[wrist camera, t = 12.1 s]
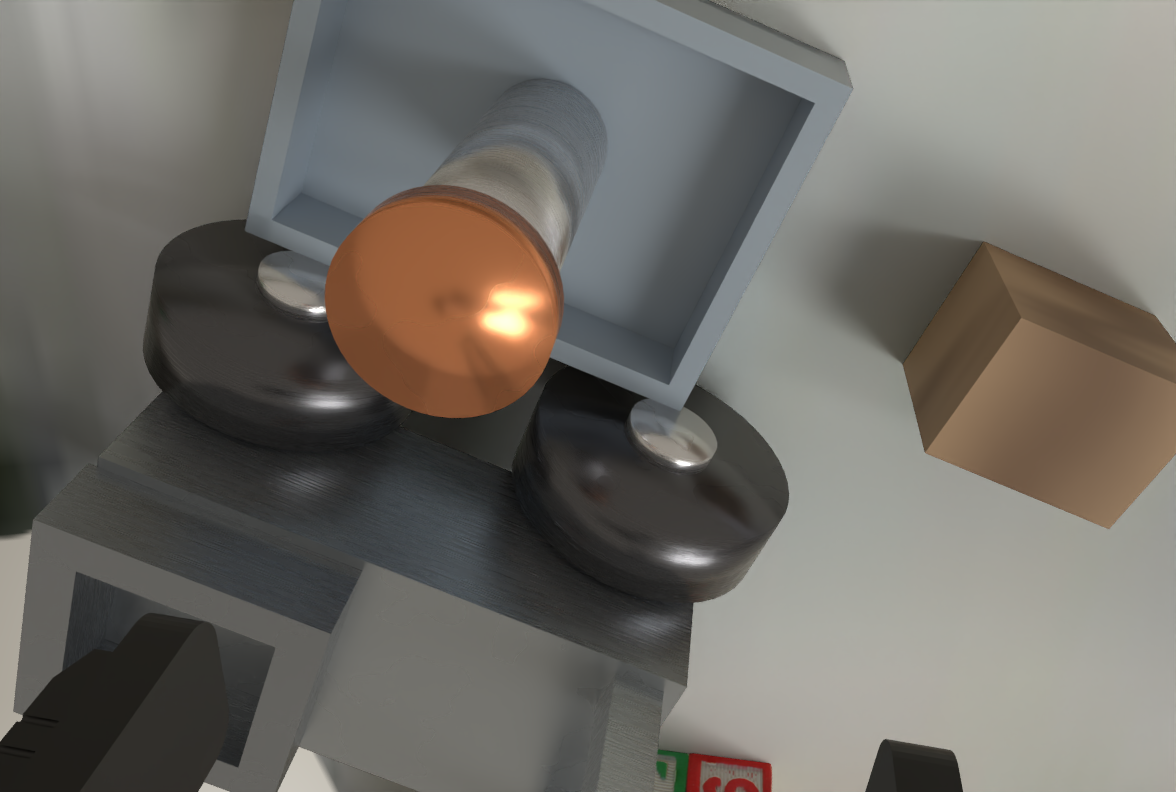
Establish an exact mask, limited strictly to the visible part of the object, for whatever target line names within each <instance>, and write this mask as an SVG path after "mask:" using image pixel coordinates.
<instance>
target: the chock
mask: <svg viewBox="0 0 1176 792" xmlns="http://www.w3.org/2000/svg"><path fill="white" fill-rule="evenodd" d="M903 367H904V371H905V375H906V379H907V383H908V387H909V391H910V395H911V399H912V403H913V407H914V411H915V415H916V419H917V423H918V427H919V431H920V435H921V439H922V443H923V447H924V451H925V453H926V454H929V455H931V456H934V457H936V458H939V459H941V460H943V461H946V462H948V463H951V464H953V465H955V466H958V467H960V468H963V469H965V470H967V471H970V472H972V473H975V474H977V475H980V476H982V477H984V478H987V479H989V480H992V481H994V482H996V483H999V484H1001V485H1004V486H1006V487H1009V488H1011V489H1013V490H1016V491H1018V492H1021V493H1023V494H1025V495H1028V496H1030V497H1033V498H1035V499H1038V500H1040V501H1042V502H1045V503H1047V504H1050V505H1052V506H1054V507H1057V508H1059V509H1062V510H1064V511H1066V512H1069V513H1071V514H1074V515H1076V516H1079V517H1081V518H1083V519H1086V520H1088V521H1091V522H1093V523H1095V524H1098V525H1100V526H1103V527H1105V528H1108V529H1109V528H1110V527H1111V526H1112V525H1113V524H1114V523H1115V522H1116V521H1117V519H1118V518H1119V517H1120V516H1121V515H1122V514H1123V513H1124V512H1125V510H1126V509H1127V508H1128V507H1129V506H1130V505H1131V504H1132V503H1133V501H1134V500H1135V499H1136V498H1137V497H1138V496H1139V495H1140V494H1141V492H1142V491H1143V490H1144V489H1145V488H1146V487H1147V486H1148V485H1149V483H1150V482H1151V481H1152V480H1153V479H1154V478H1155V477H1156V476H1157V474H1158V473H1159V472H1160V471H1161V470H1162V469H1163V468H1164V467H1165V465H1166V464H1167V463H1168V462H1169V461H1170V460H1171V459H1172V458H1173V456H1174V455H1175V454H1176V343H1175V341H1174V340H1173V339H1172V337H1171V336H1170V335H1169V333H1168V332H1167V331H1166V329H1165V328H1164V327H1163V325H1162V324H1161V323H1160V321H1159V320H1158V319H1157V317H1156V316H1155V315H1152V314H1150V313H1148V312H1145V311H1143V310H1141V309H1139V308H1136V307H1134V306H1132V305H1129V304H1127V303H1125V302H1122V301H1120V300H1118V299H1115V298H1113V297H1111V296H1109V295H1106V294H1104V293H1102V292H1099V291H1097V290H1095V289H1092V288H1090V287H1088V286H1085V285H1083V284H1081V283H1078V282H1076V281H1074V280H1072V279H1069V278H1067V277H1065V276H1062V275H1060V274H1058V273H1055V272H1053V271H1051V270H1048V269H1046V268H1044V267H1042V266H1039V265H1037V264H1035V263H1032V262H1030V261H1028V260H1025V259H1023V258H1021V257H1018V256H1016V255H1014V254H1011V253H1009V252H1007V251H1005V250H1002V249H1000V248H998V247H995V246H993V245H991V244H988V243H986V242H984V241H983V243H982V245H981V246H980V248H979V249H978V251H977V252H976V254H975V255H974V257H973V258H972V260H971V261H970V263H969V264H968V266H967V267H966V269H965V270H964V272H963V273H962V275H961V276H960V278H959V279H958V281H957V283H956V284H955V286H954V287H953V289H952V290H951V292H950V293H949V295H948V296H947V298H946V299H945V301H944V302H943V304H942V305H941V307H940V308H939V310H938V311H937V313H936V314H935V316H934V317H933V319H932V320H931V322H930V324H929V325H928V327H927V328H926V330H925V331H924V333H923V334H922V336H921V337H920V339H919V340H918V342H917V343H916V345H915V346H914V348H913V349H912V351H911V352H910V354H909V355H908V357H907V358H906V360H905V361H904V363H903Z"/></svg>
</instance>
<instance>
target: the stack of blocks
mask: <svg viewBox="0 0 1176 792" xmlns="http://www.w3.org/2000/svg"><path fill="white" fill-rule="evenodd" d="M653 792H772V766H771V764H769V763H762V762H755V761H747V760H740V759H732V758H725V757H716V756H709V755H701V754H694V753H692V754H687V753H679V752H672V751H664V750H658V752H657V762H656V772H655V781H654V791H653Z"/></svg>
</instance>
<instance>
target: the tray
mask: <svg viewBox="0 0 1176 792" xmlns="http://www.w3.org/2000/svg"><path fill="white" fill-rule="evenodd" d="M540 78H544V79H553V80H558V81H561V82H564V83H567V84H569V85H571V86H573V87H575V88H576V89H578V90H579V91H580V92H582V93H583V94H584V95H585V96H586V97H588V98H589V99H590V101H591V102H592V103H593V104H594V105H595V107H596V108H597V110H598V111H599V113H600V115H601V117H602V119H603V122H604V125H605V128H606V132H607V138H608V152H607V157H606V162H605V165H604V168H603V170H602V172H601V175H600V177H599V180H598V182H597V184H596V187H595V189H594V192H593V194H592V196H591V199H590V201H589V204H588V206H587V208H586V211H585V213H584V216H583V218H582V220H581V223H580V225H579V227H578V230H577V232H576V235H575V237H574V239H573V242H572V244H571V247H570V249H569V251H568V254H567V256H566V259H565V261H564V263H563V266H562V268H561V271H560V276H561V280H562V284H563V292H564V313H563V318H562V323H561V327H560V330H559V333H558V336H557V338H556V341H555V344H554V346H553V349H552V352H551V354H550V358H553V359H555V360H557V361H560V362H562V363H565V364H567V365H569V366H572V367H574V368H577V369H579V370H582V371H584V372H586V373H589V374H591V375H594V376H596V377H598V378H601V379H603V380H606V381H608V382H611V383H613V384H615V385H618V386H620V387H623V388H625V389H627V390H630V391H632V392H635V393H637V394H640V395H642V396H644V397H647V398H649V399H652V400H654V401H656V402H659V403H661V404H664V405H666V406H669V407H671V408H673V409H676V410H678V411H681V410H682V408H683V406H684V404H685V402H686V400H687V398H688V397H689V395H690V393H691V391H692V389H693V387H694V385H695V383H696V382H697V380H698V378H699V376H700V374H701V372H702V370H703V369H704V367H705V365H706V363H707V361H708V359H709V357H710V355H711V354H712V352H713V350H714V348H715V346H716V344H717V342H718V341H719V339H720V337H721V335H722V333H723V331H724V329H725V327H726V326H727V324H728V322H729V320H730V318H731V316H732V314H733V313H734V311H735V309H736V307H737V305H738V303H739V301H740V299H741V298H742V296H743V294H744V292H745V290H746V288H747V286H748V285H749V283H750V281H751V279H752V277H753V275H754V273H755V271H756V270H757V268H758V266H759V264H760V262H761V260H762V258H763V257H764V255H765V253H766V251H767V249H768V247H769V245H770V243H771V242H772V240H773V238H774V236H775V234H776V232H777V230H778V229H779V227H780V225H781V223H782V221H783V219H784V217H785V215H786V214H787V212H788V210H789V208H790V206H791V204H792V202H793V201H794V199H795V197H796V195H797V193H798V191H799V189H800V187H801V186H802V184H803V182H804V180H805V178H806V176H807V174H808V173H809V171H810V169H811V167H812V165H813V163H814V161H815V159H816V158H817V156H818V154H819V152H820V150H821V148H822V146H823V145H824V143H825V141H826V139H827V137H828V135H829V133H830V131H831V130H832V128H833V126H834V124H835V122H836V120H837V118H838V116H839V115H840V113H841V111H842V109H843V107H844V105H845V103H846V102H847V100H848V98H849V96H850V94H851V92H852V90H853V86H852V83H851V80H850V77H849V74H848V70H847V67H846V64H845V61H843V60H841V59H839V58H836V57H834V56H832V55H830V54H828V53H825V52H823V51H821V50H819V49H816V48H814V47H812V46H810V45H807V44H805V43H803V42H801V41H799V40H796V39H794V38H792V37H790V36H787V35H785V34H783V33H781V32H778V31H776V30H774V29H772V28H770V27H767V26H765V25H763V24H761V23H758V22H756V21H754V20H752V19H749V18H747V17H745V16H743V15H741V14H738V13H736V12H734V11H732V10H729V9H727V8H725V7H723V6H721V5H718V4H716V3H714V2H712V1H709V0H294V2H293V6H292V11H291V16H290V20H289V25H288V30H287V34H286V39H285V44H284V48H283V53H282V58H281V62H280V67H279V72H278V77H277V81H276V86H275V91H274V95H273V100H272V105H271V109H270V114H269V119H268V123H267V128H266V133H265V138H264V142H263V147H262V152H261V156H260V161H259V166H258V170H257V175H256V180H255V184H254V189H253V194H252V198H251V203H250V208H249V213H248V217H247V222H246V227H245V231H246V232H248V233H251V234H253V235H255V236H258V237H260V238H263V239H265V240H267V241H270V242H272V243H275V244H277V245H280V246H282V247H284V248H287V249H289V250H292V251H294V252H296V253H299V254H301V255H304V256H306V257H309V258H311V259H313V260H316V261H318V262H321V263H323V264H325V265H328V266H330V264H331V261H332V259H333V257H334V255H335V253H336V252H337V250H338V248H339V246H340V245H341V244H342V243H343V241H344V240H345V239H346V237H347V236H348V235H349V234H350V233H351V232H352V231H353V230H354V229H355V228H356V226H357V225H358V224H359V223H360V222H361V221H362V220H363V219H364V218H365V217H366V216H367V215H368V214H369V213H370V212H371V211H372V210H373V209H374V208H375V207H376V206H377V205H379V204H380V203H382V202H383V201H385V200H386V199H387V198H389V197H391V196H393V195H395V194H398V193H400V192H402V191H405V190H409V189H412V188H416V187H422V186H423V185H424V184H425V183H426V182H427V181H428V180H429V178H430V177H431V176H432V175H433V174H434V173H435V171H436V170H437V169H438V168H439V167H440V165H441V164H442V163H443V162H444V161H445V160H446V158H447V157H448V156H449V155H450V154H451V152H452V151H453V150H454V149H455V148H456V147H457V145H458V144H459V143H460V142H461V141H462V140H463V138H464V137H465V136H466V135H467V134H468V132H469V131H470V130H471V129H472V128H473V127H474V125H475V124H476V123H477V122H478V121H479V120H480V118H481V117H482V116H483V115H484V114H485V112H486V111H487V110H488V109H489V108H490V107H491V105H492V104H493V103H494V102H495V101H496V100H497V98H498V97H499V96H500V95H501V94H502V93H503V92H504V91H506V90H507V89H509V88H510V87H512V86H514V85H515V84H517V83H520V82H523V81H526V80H531V79H540Z"/></svg>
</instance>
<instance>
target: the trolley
mask: <svg viewBox="0 0 1176 792" xmlns="http://www.w3.org/2000/svg"><path fill="white" fill-rule="evenodd" d="M246 222H247V220H231V221H221V222H216V223H210V224H206V225H203V226H199V227H196V228H193V229H191V230H189V231H186V232H184V233H182V234H180V235H179V236H177V237H176V238H174V239H173V240H172V241H170V242H169V243H168V244H167V245H166V246H165V247H164V249H163V250H162V252H161V253H160V255H159V257H158V260H157V263H156V267H155V273H154V279H153V285H152V291H151V297H150V303H149V310H148V316H147V322H146V328H145V334H144V342H143V353H144V359H145V363H146V365H147V368H148V370H149V373H150V374H151V376H152V377H153V379H154V381H155V382H156V384H157V385H158V386H159V388H160V389H161V390H162V393H161V394H160V395H159V396H158V397H157V398H156V399H155V400H154V401H153V402H152V403H151V404H150V405H149V406H148V407H147V408H146V409H145V410H144V411H143V412H142V413H141V414H140V415H139V416H138V417H137V418H136V419H135V420H134V421H133V422H132V423H131V424H130V425H129V426H128V427H127V428H126V429H125V430H124V431H123V432H122V433H121V434H120V435H119V436H118V437H117V438H116V440H115V441H114V442H113V443H112V444H111V445H110V446H109V447H108V448H107V449H106V450H105V451H104V452H103V453H102V454H101V455H100V456H99V458H98V465H97V467H96V466H94V465H91V464H89V463H88V464H87V465H86V466H85V467H84V468H83V469H82V470H81V471H80V473H79V474H78V475H77V476H76V477H75V478H74V479H73V480H72V481H71V482H70V483H69V484H68V485H67V486H66V487H65V488H64V489H63V490H62V491H61V492H60V493H59V494H58V495H57V496H56V497H55V498H54V499H53V500H52V501H51V502H50V503H49V504H48V505H47V506H46V507H45V508H44V509H43V510H42V511H41V512H40V513H39V514H38V515H37V516H36V517H35V518H34V519H33V526H32V536H31V545H30V555H29V566H28V575H27V584H26V594H25V604H24V613H23V624H22V633H21V642H20V652H19V662H18V672H17V681H16V691H15V700H14V710H13V711H14V712H16V713H19V714H21V715H23V713H24V712H25V711H26V710H27V708H28V707H29V706H30V705H31V704H32V702H33V701H34V700H35V699H36V698H37V696H38V695H39V694H40V693H41V691H42V690H43V689H44V688H45V687H46V685H47V684H48V683H49V682H50V681H51V679H52V678H53V677H55V676H56V675H58V674H59V673H60V672H62V671H63V670H65V669H66V668H68V667H69V666H71V665H72V664H74V663H75V662H76V661H78V660H79V659H81V658H82V657H84V656H85V655H87V654H88V653H90V652H91V651H93V650H94V649H99V650H105V651H111V652H113V651H114V650H115V649H116V647H117V646H118V645H119V643H120V642H121V641H122V640H123V638H124V637H125V636H126V634H127V633H128V632H129V631H130V629H131V628H132V627H133V625H134V624H135V623H136V622H137V621H138V620H139V619H140V618H141V617H142V616H144V615H145V614H148V613H157V614H163V615H169V616H175V617H181V618H187V619H193V620H199V621H205V622H209V623H211V624H212V625H213V626H214V628H215V630H216V634H217V640H218V646H219V652H220V658H221V663H222V669H223V675H224V681H225V687H226V693H227V699H228V705H229V721H228V728H227V732H226V737H225V740H224V743H223V746H222V749H221V751H220V754H219V756H218V758H217V760H216V762H215V764H214V765H213V767H212V769H211V770H210V772H209V774H208V776H207V777H206V779H205V781H204V782H206V783H208V784H211V785H214V786H216V787H219V788H222V789H225V790H227V791H230V792H277V791H278V789H279V787H280V785H281V783H282V781H283V779H284V777H285V774H286V772H287V770H288V768H289V766H290V764H291V762H292V760H293V757H294V756H295V753H296V751H297V749H298V747H301V748H304V749H307V750H310V751H312V752H315V753H317V754H320V755H323V756H325V757H328V758H331V759H333V760H336V761H339V762H341V763H344V764H347V765H349V766H352V767H355V768H357V769H360V770H363V771H365V772H368V773H371V774H373V775H376V776H379V777H381V778H384V779H387V780H389V781H392V782H395V783H397V784H400V785H403V786H405V787H408V788H411V789H413V790H416V791H419V792H653V791H654V781H655V772H656V762H657V752H658V742H659V733H660V727H661V725H662V724H663V722H664V721H665V719H666V718H667V716H668V715H669V713H670V712H671V710H672V709H673V707H674V706H675V704H676V703H677V701H678V700H679V698H680V697H681V695H682V694H683V692H684V691H685V689H686V688H687V678H688V665H689V653H690V640H691V627H692V614H693V603H694V602H702V601H706V600H710V599H714V598H717V597H719V596H721V595H724V594H726V593H727V592H729V591H730V590H732V589H733V588H735V587H736V586H737V585H738V584H739V582H740V581H741V580H742V579H743V578H744V576H745V575H746V573H747V572H748V570H749V568H750V567H751V565H752V564H753V562H754V561H755V559H756V558H757V556H758V555H759V553H760V552H761V550H762V549H763V547H764V545H765V544H766V542H767V541H768V539H769V538H770V536H771V535H772V533H773V532H774V530H775V529H776V527H777V526H778V524H779V522H780V521H781V519H782V518H783V516H784V514H785V512H786V509H787V506H788V500H789V490H788V483H787V479H786V476H785V473H784V470H783V468H782V466H781V464H780V462H779V460H778V458H777V457H776V455H775V453H774V452H773V450H772V449H771V447H770V446H769V445H768V443H767V442H766V441H765V440H764V438H763V437H762V436H761V435H760V434H759V433H758V432H757V431H756V429H755V428H754V427H753V426H752V425H750V424H749V423H748V422H747V421H746V420H745V419H744V418H743V417H742V416H741V415H739V414H738V413H737V412H736V411H734V410H733V409H732V408H731V407H729V406H728V405H726V404H725V403H724V402H722V401H721V400H719V399H718V398H716V397H715V396H713V395H711V394H710V393H708V392H707V391H705V390H703V389H701V388H699V387H698V386H696V385H694V387H693V389H692V391H691V393H690V395H689V397H688V398H687V400H686V402H685V404H684V406H683V408H682V410H681V411H678V410H676V409H673V408H671V407H669V406H666V405H664V404H661V403H659V402H656V401H654V400H652V399H649V398H647V397H644V396H642V395H640V394H637V393H635V392H632V391H630V390H627V389H625V388H623V387H620V386H618V385H615V384H613V383H611V382H608V381H606V380H603V379H601V378H598V377H596V376H594V375H591V374H589V373H586V372H584V371H582V370H579V369H577V368H574V367H572V366H568V367H566V368H564V369H562V370H560V371H559V372H557V373H556V374H555V375H553V376H552V377H551V379H550V380H549V381H548V382H547V383H546V385H545V387H544V389H543V392H542V394H541V396H540V398H539V401H538V403H537V405H536V408H535V410H534V412H533V414H532V417H531V419H530V421H529V424H528V426H527V428H526V430H525V433H524V435H523V437H522V440H521V442H520V444H519V447H518V449H517V451H516V453H515V456H514V461H513V465H512V472H510V471H507V470H505V469H502V468H500V467H498V466H495V465H493V464H490V463H488V462H485V461H483V460H480V459H478V458H475V457H473V456H470V455H468V454H465V453H463V452H460V451H458V450H455V449H453V448H450V447H448V446H445V445H443V444H441V443H438V442H436V441H433V440H431V439H428V438H426V437H423V436H421V435H418V434H416V433H413V432H411V431H408V430H406V429H403V428H401V427H399V426H400V425H401V424H402V423H403V422H404V421H405V420H406V418H407V417H408V416H409V414H410V413H411V409H408V408H406V407H404V406H401V405H399V404H397V403H395V402H393V401H391V400H390V399H388V398H387V397H385V396H383V395H382V394H380V393H379V392H378V391H376V390H375V389H374V388H372V387H371V386H370V385H368V384H367V383H366V382H365V381H364V380H363V379H362V378H361V377H360V376H359V375H358V374H357V373H356V372H355V370H354V369H353V368H352V367H351V366H350V365H349V363H348V362H347V360H346V359H345V357H344V356H343V354H342V353H341V351H340V349H339V348H338V346H337V344H336V342H335V340H334V337H333V335H332V332H331V329H330V327H329V323H328V319H327V315H326V307H325V284H326V279H327V273H328V270H329V267H330V266H328V265H325V264H323V263H321V262H318V261H316V260H313V259H311V258H309V257H306V256H304V255H301V254H299V253H296V252H294V251H292V250H289V249H287V248H284V247H282V246H280V245H277V244H275V243H272V242H270V241H267V240H265V239H263V238H260V237H258V236H255V235H253V234H251V233H248V232H246V231H245V227H246Z"/></svg>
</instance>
